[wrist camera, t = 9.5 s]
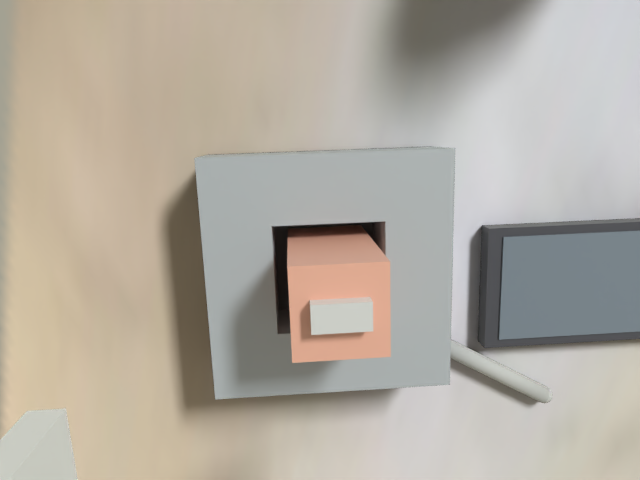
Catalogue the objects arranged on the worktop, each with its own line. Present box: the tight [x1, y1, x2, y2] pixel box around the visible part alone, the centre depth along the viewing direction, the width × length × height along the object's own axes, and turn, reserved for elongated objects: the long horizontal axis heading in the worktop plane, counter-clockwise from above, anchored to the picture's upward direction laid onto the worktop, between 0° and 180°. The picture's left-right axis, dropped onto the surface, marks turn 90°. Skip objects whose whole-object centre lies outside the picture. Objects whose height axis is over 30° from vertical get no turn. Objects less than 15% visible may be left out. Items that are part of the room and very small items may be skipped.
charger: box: [287, 225, 391, 363], centre depth 23 cm, size 4×4×9 cm
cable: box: [450, 340, 552, 403], centre depth 29 cm, size 9×1×1 cm, turn 62°
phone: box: [478, 218, 640, 348], centre depth 28 cm, size 7×14×1 cm, turn 92°
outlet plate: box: [194, 147, 455, 399], centre depth 26 cm, size 12×12×4 cm
